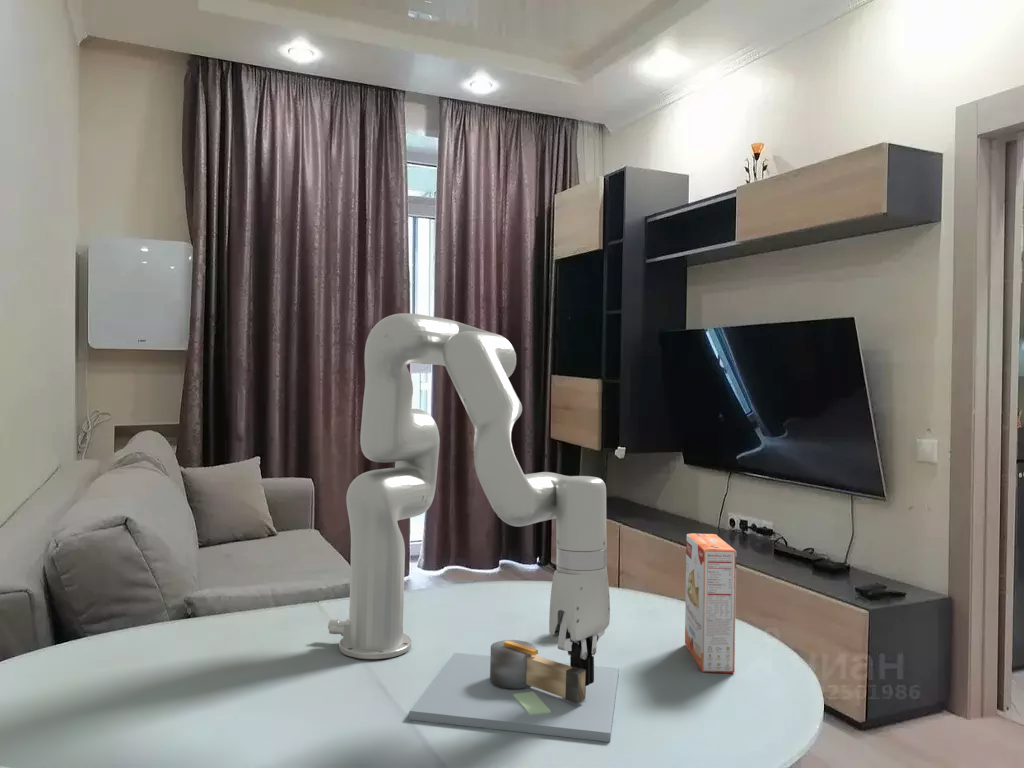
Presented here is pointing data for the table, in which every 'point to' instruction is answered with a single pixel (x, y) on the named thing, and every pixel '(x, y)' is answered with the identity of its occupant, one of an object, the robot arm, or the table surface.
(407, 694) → the table surface
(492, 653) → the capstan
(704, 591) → the cracker box
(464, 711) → the board
